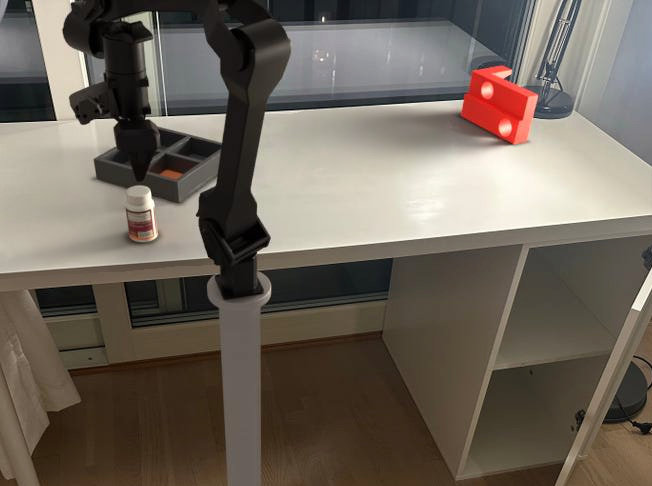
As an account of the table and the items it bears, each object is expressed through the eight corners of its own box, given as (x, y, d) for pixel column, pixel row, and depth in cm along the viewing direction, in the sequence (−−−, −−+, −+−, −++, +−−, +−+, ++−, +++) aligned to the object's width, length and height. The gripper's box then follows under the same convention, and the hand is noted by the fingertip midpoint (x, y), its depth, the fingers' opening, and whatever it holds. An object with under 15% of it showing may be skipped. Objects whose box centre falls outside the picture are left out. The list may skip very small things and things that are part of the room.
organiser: (232, 164, 142) (232, 145, 140) (179, 203, 129) (177, 182, 127) (155, 144, 148) (153, 125, 146) (96, 179, 135) (93, 158, 133)
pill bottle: (138, 226, 122) (132, 182, 117) (162, 232, 121) (158, 187, 116) (124, 239, 119) (117, 194, 113) (149, 245, 118) (143, 200, 112)
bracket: (469, 71, 160) (502, 65, 164) (460, 115, 167) (492, 109, 171) (525, 97, 149) (559, 90, 153) (513, 144, 155) (546, 136, 159)
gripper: (64, 48, 106) (79, 146, 117) (72, 95, 93) (88, 201, 103) (138, 45, 109) (147, 141, 119) (156, 90, 96) (164, 194, 106)
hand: (136, 167), depth 112 cm, fingers open, 9 cm apart
